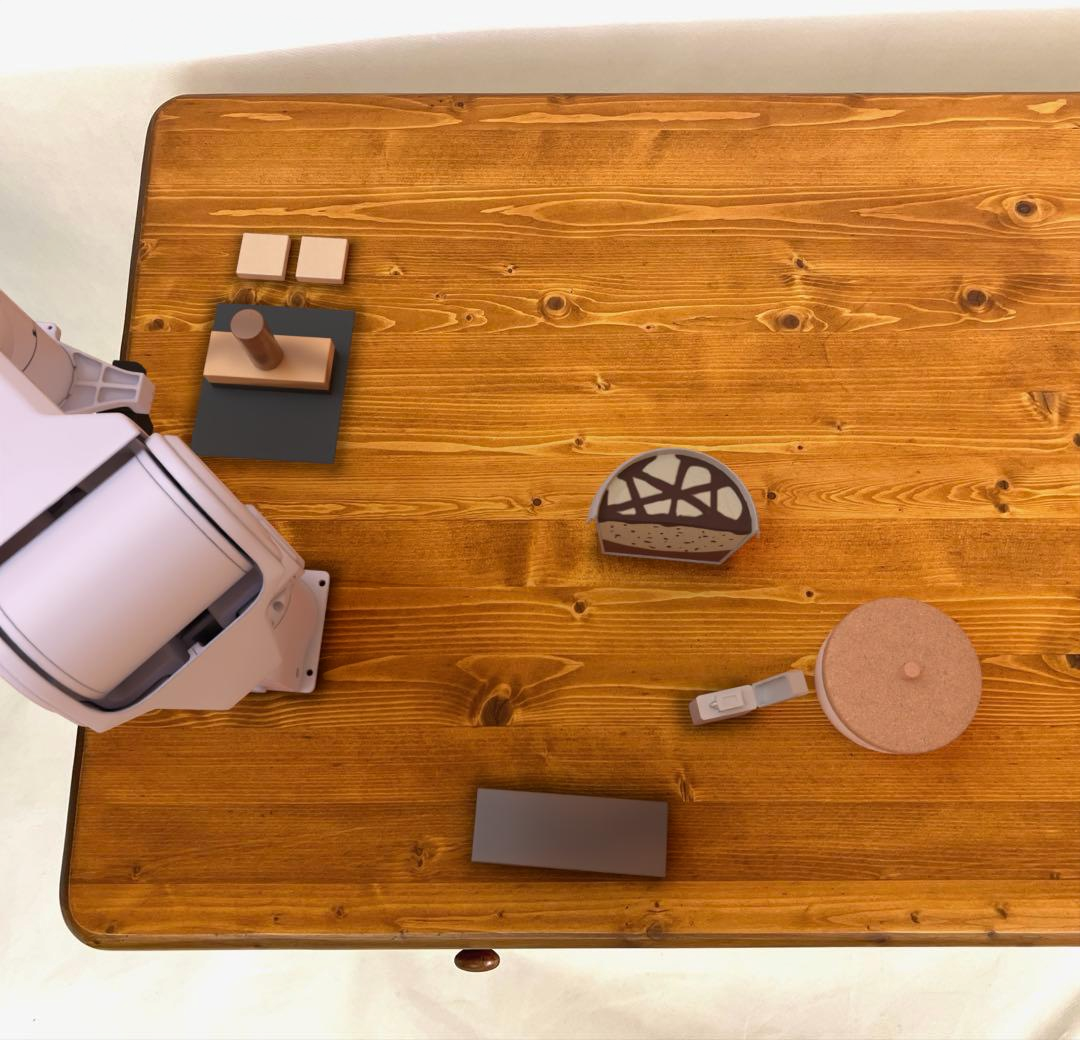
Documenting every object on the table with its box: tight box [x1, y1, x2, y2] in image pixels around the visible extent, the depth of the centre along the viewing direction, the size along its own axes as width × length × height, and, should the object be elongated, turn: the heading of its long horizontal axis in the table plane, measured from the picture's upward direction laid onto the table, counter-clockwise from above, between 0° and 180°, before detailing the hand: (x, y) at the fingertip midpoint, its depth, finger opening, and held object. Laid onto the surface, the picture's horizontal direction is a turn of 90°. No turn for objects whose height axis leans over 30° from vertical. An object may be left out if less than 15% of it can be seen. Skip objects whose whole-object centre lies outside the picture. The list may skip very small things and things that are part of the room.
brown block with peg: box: [202, 309, 337, 395], centre depth 78 cm, size 4×10×8 cm, turn 86°
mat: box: [189, 302, 356, 465], centre depth 82 cm, size 14×12×1 cm
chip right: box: [295, 236, 350, 285], centre depth 85 cm, size 4×4×1 cm
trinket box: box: [813, 596, 983, 755], centre depth 70 cm, size 11×11×9 cm
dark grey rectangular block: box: [470, 787, 669, 878], centre depth 69 cm, size 5×13×6 cm, turn 86°
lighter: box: [688, 669, 809, 726], centre depth 70 cm, size 7×2×8 cm, turn 102°
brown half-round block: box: [586, 446, 761, 566], centre depth 73 cm, size 12×6×10 cm, turn 84°
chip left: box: [235, 232, 292, 282], centre depth 85 cm, size 4×4×1 cm
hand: (93, 433), depth 70 cm, fingers open, 7 cm apart
